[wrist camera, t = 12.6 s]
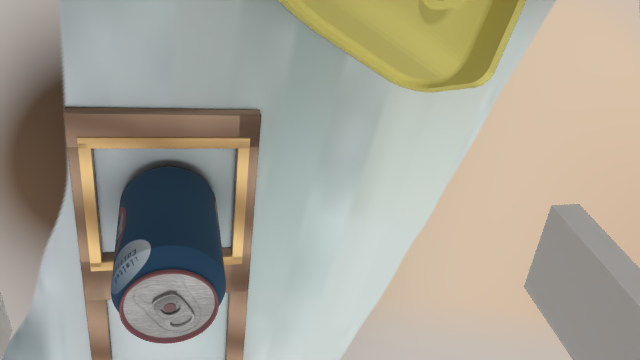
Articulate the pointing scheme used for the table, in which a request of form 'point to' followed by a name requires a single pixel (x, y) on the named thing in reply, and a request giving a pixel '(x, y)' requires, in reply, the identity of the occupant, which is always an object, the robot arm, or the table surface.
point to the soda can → (168, 256)
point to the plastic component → (417, 37)
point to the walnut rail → (160, 132)
